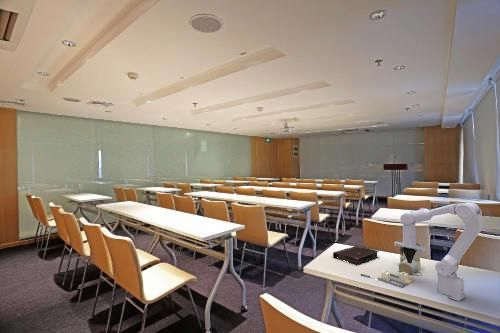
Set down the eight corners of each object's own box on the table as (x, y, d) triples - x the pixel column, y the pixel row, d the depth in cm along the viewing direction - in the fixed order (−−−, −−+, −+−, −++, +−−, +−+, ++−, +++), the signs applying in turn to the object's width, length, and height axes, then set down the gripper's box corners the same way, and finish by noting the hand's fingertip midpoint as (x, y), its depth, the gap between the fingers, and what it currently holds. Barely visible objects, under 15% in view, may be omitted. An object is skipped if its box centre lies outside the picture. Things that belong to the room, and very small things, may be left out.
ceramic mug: (397, 273, 144) (397, 259, 144) (403, 269, 149) (403, 256, 149) (419, 280, 136) (419, 265, 136) (424, 275, 141) (424, 261, 141)
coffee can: (396, 265, 156) (395, 242, 156) (409, 264, 159) (409, 241, 159) (410, 272, 146) (410, 247, 146) (425, 270, 149) (424, 245, 149)
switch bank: (412, 284, 130) (412, 280, 130) (402, 290, 124) (401, 285, 124) (388, 276, 140) (388, 272, 140) (377, 281, 134) (377, 277, 134)
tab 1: (390, 280, 132) (390, 271, 132) (387, 282, 131) (387, 273, 131) (384, 278, 135) (384, 269, 135) (381, 280, 133) (381, 271, 133)
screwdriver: (382, 282, 133) (382, 278, 133) (381, 283, 132) (381, 279, 132) (361, 276, 140) (361, 273, 140) (360, 277, 139) (360, 274, 139)
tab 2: (408, 281, 131) (408, 272, 131) (405, 283, 129) (405, 274, 129) (402, 279, 133) (402, 270, 133) (399, 281, 132) (399, 272, 132)
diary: (332, 259, 171) (332, 251, 172) (355, 252, 185) (355, 245, 186) (358, 266, 156) (358, 258, 156) (380, 258, 170) (380, 251, 170)
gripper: (428, 237, 130) (429, 265, 129) (398, 232, 142) (398, 257, 141) (422, 240, 126) (422, 268, 125) (391, 234, 138) (392, 260, 137)
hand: (409, 262), depth 133 cm, fingers closed
